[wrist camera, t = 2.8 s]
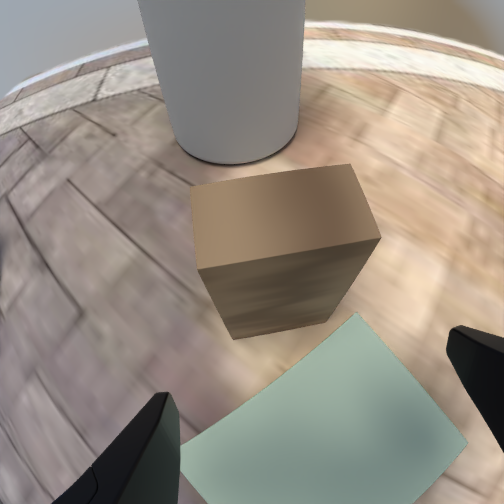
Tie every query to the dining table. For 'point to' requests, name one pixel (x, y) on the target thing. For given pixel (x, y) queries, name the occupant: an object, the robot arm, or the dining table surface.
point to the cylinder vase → (228, 73)
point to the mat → (328, 433)
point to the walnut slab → (281, 246)
